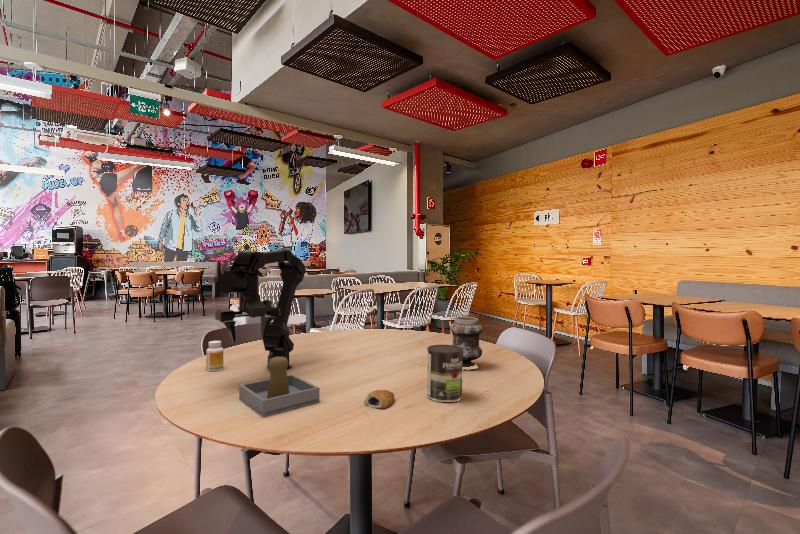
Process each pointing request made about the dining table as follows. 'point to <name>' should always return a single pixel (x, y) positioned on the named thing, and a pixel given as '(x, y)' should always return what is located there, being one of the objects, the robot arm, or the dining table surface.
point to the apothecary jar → (467, 338)
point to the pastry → (379, 399)
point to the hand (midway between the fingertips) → (248, 340)
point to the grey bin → (297, 397)
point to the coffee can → (444, 373)
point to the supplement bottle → (214, 356)
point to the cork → (278, 377)
